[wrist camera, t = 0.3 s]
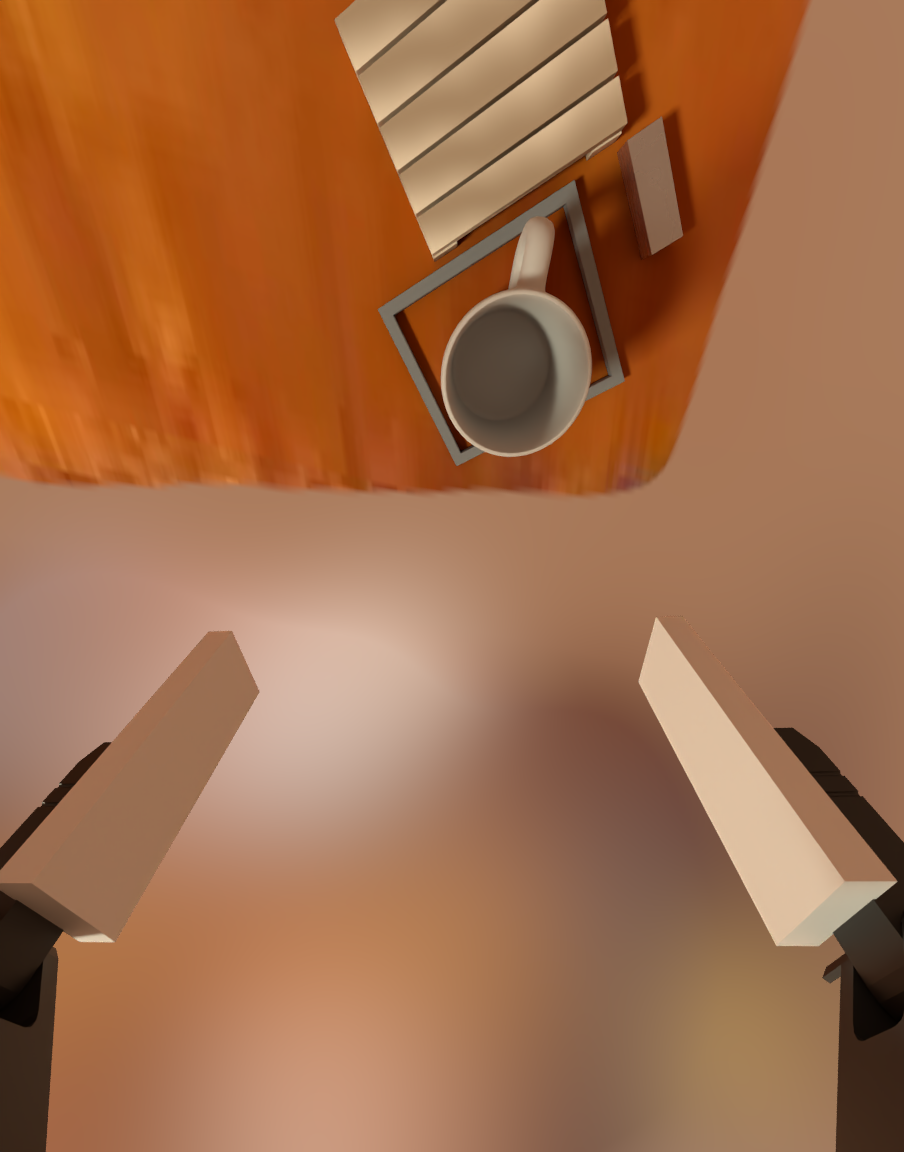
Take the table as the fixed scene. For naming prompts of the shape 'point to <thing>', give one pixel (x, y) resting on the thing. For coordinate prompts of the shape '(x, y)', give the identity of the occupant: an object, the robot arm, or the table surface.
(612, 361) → the socket frame
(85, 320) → the table surface
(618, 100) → the rack
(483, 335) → the mug
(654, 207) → the grey rectangular bar
